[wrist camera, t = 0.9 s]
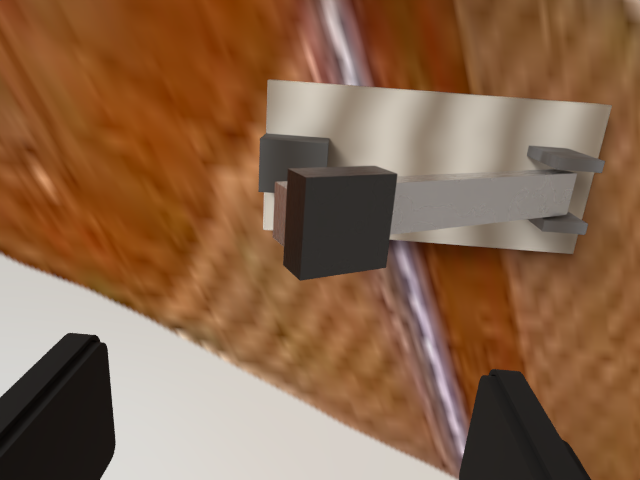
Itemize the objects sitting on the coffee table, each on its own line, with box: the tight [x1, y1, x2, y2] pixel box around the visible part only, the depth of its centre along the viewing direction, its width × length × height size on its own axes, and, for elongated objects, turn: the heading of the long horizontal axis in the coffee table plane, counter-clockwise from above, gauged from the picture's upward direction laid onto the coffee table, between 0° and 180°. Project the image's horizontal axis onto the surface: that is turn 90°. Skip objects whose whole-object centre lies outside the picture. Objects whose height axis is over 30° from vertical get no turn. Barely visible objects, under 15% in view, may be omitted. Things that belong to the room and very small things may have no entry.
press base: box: [259, 80, 612, 254], centre depth 37 cm, size 26×12×8 cm, turn 86°
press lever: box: [273, 166, 577, 280], centre depth 29 cm, size 22×5×4 cm
